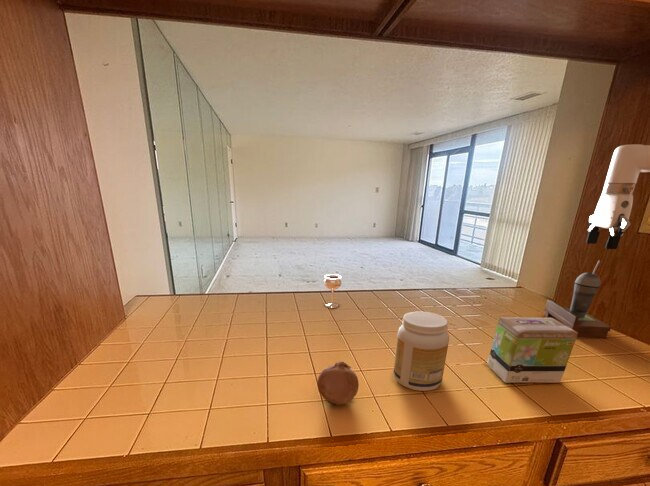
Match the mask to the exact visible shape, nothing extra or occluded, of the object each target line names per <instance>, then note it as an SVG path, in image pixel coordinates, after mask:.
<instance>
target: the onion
mask: <svg viewBox="0 0 650 486" xmlns="http://www.w3.org/2000/svg"><path fill="white" fill-rule="evenodd" d="M316 381H317V382H316V383H317V390H318V392H319V393H320V395H321V397H322V398H323V399H324V401H325V402H326V403H328V404H331V405H332V406H341V405H342V406H344V405H345V404H347V403H351V402H352V401H353V400H354V398H355V397H356V395H357V394H358V391H359V385H360V384H359V383H360V382H359V378H358V376H357V374H356V372H355V371H354V370H353V369H352V367H351V366H350V365H349V364H347V362H344V361H339V362H335V363H334V364H331V365H328V366H327V367H324V368H323V369H322V370H321V372H319V374H318V377H317V380H316Z"/></svg>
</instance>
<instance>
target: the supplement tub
mask: <svg viewBox="0 0 650 486" xmlns="http://www.w3.org/2000/svg"><path fill="white" fill-rule="evenodd" d="M401 323H402V324H401V325H400V326H399V328H398V330H397V335H396V336H397V337H396V344H395V345H396V347H395V352H394V353H395V355H394V364H393V377H394V379H395V380H396V382H397V383H398V384H400V385H401V386H403V387H405V388H407V389H409V390H413V391H417V392H428V391H429V392H430V391H432V390H435V389H438V387H439V386H440V385H441V384H442V382H443V377H444V373H445V366H446V362H447V361H446V360H447V354H448V348H449V343H450V335H449V332H448V331H447V330H448V325H449V324H448V323H449V322H448V319H447V318H445V317H444V316H442V315H440V314H438V313H434V312H430V311H410V312H407V313H405V314H404V315H403V317H402V320H401Z"/></svg>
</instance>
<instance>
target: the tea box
mask: <svg viewBox="0 0 650 486" xmlns="http://www.w3.org/2000/svg"><path fill="white" fill-rule="evenodd" d="M577 335H578V332H576V331H574V330H573V329H571V328H569V327H568V326H566V325H565V324H563V323H562V322H561V321H559V320H558V319H554V318H546V317H523V316H522V317H518V316H517V317H516V316H515V317H514V316H512V317H510V316H509V317H508V316H505V317H504V316H500V317H499V318H498V322H497V325H496V328H495V332H494V336H493V340H492V344H491V349H490V352H489V356H488V359H487V363H486V364H487V366H488V367H489V368H490V369H491V370H492V371H493V372H494V373H495V374H496V376H498V377H499V378H500V380H502V381H503V382H504V384H508V383H509V384H510V383H548V384H549V383H551V384H552V383H553V384H555V383H556V384H559V383H561V381H562V378H563V376H564V373H565V370H566V368H567V365H568V363H569V359H570V357H571V354H572V353H573V352H572V351H573V348H574V345H575V344H576V340H577V338H578V337H577Z"/></svg>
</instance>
